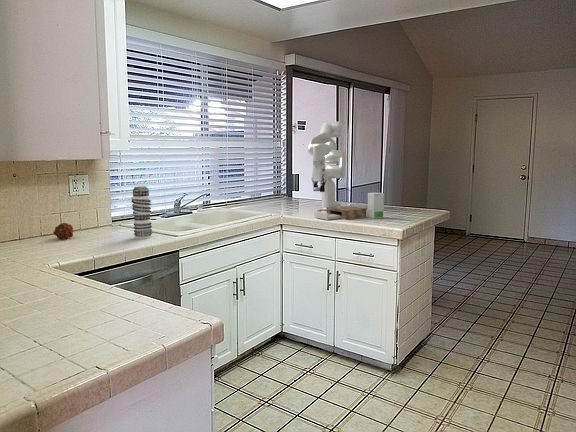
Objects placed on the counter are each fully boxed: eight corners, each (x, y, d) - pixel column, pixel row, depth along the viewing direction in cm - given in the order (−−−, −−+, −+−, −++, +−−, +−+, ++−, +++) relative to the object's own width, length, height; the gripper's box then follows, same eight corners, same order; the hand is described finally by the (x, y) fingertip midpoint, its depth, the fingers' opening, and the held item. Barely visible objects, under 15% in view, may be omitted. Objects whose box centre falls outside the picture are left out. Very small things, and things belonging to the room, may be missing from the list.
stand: (318, 214, 298) (318, 209, 298) (322, 215, 295) (322, 210, 294) (313, 215, 296) (313, 210, 296) (317, 216, 292) (317, 210, 292)
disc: (320, 190, 296) (320, 186, 296) (326, 190, 290) (326, 187, 290) (311, 190, 293) (311, 187, 293) (317, 191, 287) (317, 188, 287)
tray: (334, 215, 293) (334, 209, 292) (346, 217, 282) (346, 211, 281) (314, 217, 285) (314, 211, 285) (327, 219, 274) (327, 213, 274)
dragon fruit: (64, 244, 219) (62, 243, 229) (79, 232, 223) (75, 232, 233) (51, 230, 216) (49, 231, 226) (66, 219, 220) (63, 219, 230)
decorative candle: (130, 238, 223) (126, 187, 219) (139, 235, 232) (136, 186, 228) (147, 239, 221) (144, 187, 218) (156, 235, 230) (153, 186, 227)
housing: (346, 213, 302) (346, 205, 301) (366, 217, 285) (366, 208, 284) (326, 215, 294) (326, 207, 293) (345, 219, 277) (345, 210, 276)
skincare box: (373, 219, 279) (373, 193, 276) (366, 217, 284) (366, 192, 282) (384, 217, 282) (384, 192, 280) (377, 216, 288) (377, 192, 286)
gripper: (331, 163, 284) (331, 192, 286) (316, 163, 299) (316, 190, 301) (321, 163, 280) (321, 192, 282) (306, 163, 295) (306, 190, 297)
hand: (319, 191), depth 292 cm, fingers closed on disc, 7 cm apart
